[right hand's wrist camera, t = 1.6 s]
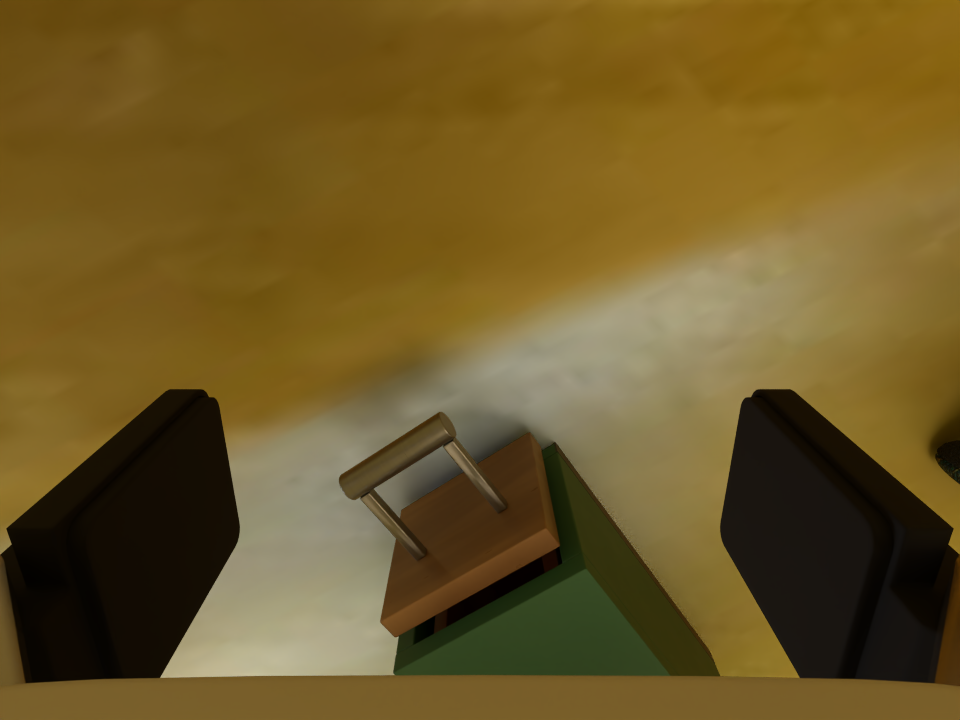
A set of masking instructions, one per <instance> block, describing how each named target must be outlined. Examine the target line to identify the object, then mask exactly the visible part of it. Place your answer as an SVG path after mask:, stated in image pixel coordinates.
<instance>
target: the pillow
mask: <svg viewBox="0 0 960 720" xmlns="http://www.w3.org/2000/svg"><path fill="white" fill-rule="evenodd" d="M937 452H938V453H937V454H936V455H935V458H936V460H937V462H938V464H939V466H940V467H941V468H942V469H943V470H944V471H945V472H946V473H947V474H948V475H949V476H950V477H951V478H953V479H954V480H955V481H956V482H958V483H959V484H960V440H959V441H952V442H948V443H945V444H943V445H942V446H941V447H939V448H938V449H937Z"/></svg>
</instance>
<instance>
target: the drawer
mask: <svg viewBox="0 0 960 720" xmlns="http://www.w3.org/2000/svg"><path fill="white" fill-rule="evenodd" d="M455 437H456V431H455V428H454V426H453V424H452V422H451V421H450V419H449V418H448V417H447V416H446V415H445V414H444V413H443V412H439V413H437V414H436V415H434V416H432V417H431V418H429V419H428V420H426V421H425V422H423V423H421V424H420V425H418V426H417V427H415V428H414V429H412V430H410V431H409V432H407V433H406V434H404V435H403V436H401V437H400V438H398V439H396V440H395V441H393V442H392V443H390V444H389V445H387V446H385V447H384V448H382V449H381V450H379V451H378V452H376V453H375V454H373V455H371V456H370V457H368V458H367V459H365V460H364V461H362V462H360V463H359V464H357V465H356V466H354V467H353V468H351V469H350V470H348V471H346V472H345V473H343V474H342V475H341V476H340V477H339V484H340V487H341V489H342V491H343V492H344V494H345V495H346V496H347V497H348V498H350V499H352V500H356V499H358V498H359V497H361V498H360V499H361V500H362V501H363V502H364V504H365V505H366V506H367V507H368V508H369V509H370V510H371V511H372V512H373V513H374V515H375V516H376V517H377V518H378V519H379V520H380V521H381V522H382V523H383V525H384V526H385V527H386V528H387V529H388V530H389V531H390V532H391V533H392V534H393V536H394V537H395V538H396V542H395V547H394V552H393V557H392V562H391V568H390V573H389V578H388V583H387V588H386V594H385V599H384V604H383V609H382V614H381V620H380V622H381V624H382V625H383V626H384V627H385V628H386V629H387V630H388V631H389V632H390V633H391V634H392V635H393V636H394V637H397V636H399V635H401V634H403V633H405V632H406V631H408V630H410V629H412V628H414V627H415V626H417V625H419V624H421V623H423V622H424V621H426V620H428V619H430V618H432V617H433V616H435V625H434V633H436V632H438V631H440V630H442V629H444V628H445V627H447V626H449V625H451V624H453V623H455V622H456V621H458V620H460V619H462V618H464V617H465V616H467V615H469V614H471V613H473V612H475V611H476V610H478V609H480V608H482V607H484V606H486V605H487V604H489V603H491V602H493V601H495V600H496V599H498V598H500V597H502V596H504V595H506V594H507V593H509V592H511V591H513V590H515V589H517V588H518V587H520V586H522V585H524V584H526V583H527V582H529V581H531V580H533V579H535V578H537V577H538V576H540V575H542V574H544V573H546V572H548V571H549V570H551V569H553V568H555V567H557V566H558V565H560V564H562V558H561V553H560V548H559V546H560V542H559V537H558V532H557V527H556V522H555V517H554V512H553V507H552V502H551V497H550V491H549V486H548V481H547V476H546V471H545V466H544V461H543V456H542V451H541V446H540V445H539V444H538V442H537V441H536V440H535V438H534V437H533V436H532V434H531V433H530V432H529V433H527V434H525V435H524V436H522V437H520V438H519V439H517V440H516V441H514V442H512V443H511V444H509V445H507V446H506V447H504V448H502V449H501V450H499V451H497V452H496V453H494V454H493V455H491V456H489V457H488V458H486V459H484V460H483V461H481V462H479V463H478V464H476V462H475V461H474V460H473V459H472V457H471V456H470V455H469V454H468V452H467V451H466V450H465V449H464V447H463V446H462V445H461V444H460V442H459V441H458V440H457V439H456V438H455ZM441 446H443V447H444V449H445V450H446V451H447V452H448V454H449V455H450V456H451V457H452V458H453V460H454V461H455V462H456V463H457V465H458V466H459V467H460V468H461V469H462V471H463V473H461V474H460V475H458V476H456V477H455V478H453V479H451V480H450V481H448V482H447V483H445V484H443V485H442V486H440V487H438V488H437V489H435V490H433V491H432V492H430V493H428V494H427V495H425V496H423V497H422V498H420V499H419V500H417V501H415V502H414V503H412V504H410V505H409V506H407V507H405V508H404V509H402V510H401V516H400V518H399V517H398V516H397V515H396V514H395V513H394V512H393V510H392V509H391V508H390V507H389V506H388V505H387V504H386V503H385V502H384V500H383V499H382V498H381V497H380V496H379V495H378V494H377V493H376V491H375V490H374V488H375V487H377V486H379V485H380V484H382V483H383V482H385V481H387V480H388V479H390V478H391V477H393V476H395V475H396V474H398V473H399V472H401V471H403V470H404V469H406V468H407V467H409V466H411V465H412V464H414V463H415V462H417V461H419V460H420V459H422V458H423V457H425V456H427V455H428V454H430V453H431V452H433V451H435V450H436V449H438V448H439V447H441Z"/></svg>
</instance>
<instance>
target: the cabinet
mask: <svg viewBox="0 0 960 720" xmlns="http://www.w3.org/2000/svg"><path fill="white" fill-rule="evenodd" d="M542 456H543V461H544V466H545V471H546V476H547V481H548V486H549V491H550V497H551V502H552V507H553V512H554V517H555V522H556V527H557V532H558V537H559V542H560V546H559V548H560V553H561V558H562V564H560V565H558V566H557V567H555V568H553V569H551V570H549V571H548V572H546V573H544V574H542V575H540V576H538V577H537V578H535V579H533V580H531V581H529V582H527V583H526V584H524V585H522V586H520V587H518V588H517V589H515V590H513V591H511V592H509V593H507V594H506V595H504V596H502V597H500V598H498V599H496V600H495V601H493V602H491V603H489V604H487V605H486V606H484V607H482V608H480V609H478V610H476V611H475V612H473V613H471V614H469V615H467V616H465V617H464V618H462V619H460V620H458V621H456V622H455V623H453V624H451V625H449V626H447V627H445V628H444V629H442V630H440V631H438V632H436V633H434V625H435V616H433V617H432V618H430V619H428V620H426V621H424V622H423V623H421V624H419V625H417V626H415V627H414V628H412V629H410V630H408V631H406V632H405V633H403V634H401V635H399V639H398V646H397V654H396V658H395V665H394V671H393V673H394V674H395V675H569V676H718V677H720V674H719V672H718V670H717V668H716V665H715V662H714V660H713V658H712V655H711V653H710V651H709V650H708V648H707V647H706V646H705V644H704V643H703V641H702V640H701V639H700V637H699V636H698V635H697V633H696V632H695V631H694V629H693V628H692V627H691V625H690V624H689V623H688V621H687V620H686V618H685V617H684V616H683V614H682V613H681V612H680V610H679V609H678V608H677V606H676V605H675V604H674V602H673V601H672V599H671V598H670V597H669V595H668V594H667V593H666V591H665V590H664V589H663V587H662V586H661V585H660V583H659V582H658V581H657V579H656V578H655V576H654V575H653V574H652V572H651V571H650V570H649V568H648V567H647V566H646V564H645V563H644V562H643V560H642V559H641V558H640V556H639V555H638V553H637V552H636V551H635V549H634V548H633V547H632V545H631V544H630V543H629V541H628V540H627V539H626V537H625V536H624V535H623V533H622V532H621V530H620V529H619V528H618V526H617V525H616V524H615V522H614V521H613V520H612V518H611V517H610V516H609V514H608V513H607V512H606V510H605V509H604V507H603V506H602V505H601V503H600V502H599V501H598V499H597V498H596V497H595V495H594V494H593V493H592V491H591V490H590V488H589V487H588V486H587V484H586V483H585V482H584V480H583V479H582V478H581V476H580V475H579V474H578V472H577V471H576V470H575V468H574V467H573V465H572V464H571V463H570V461H569V460H568V459H567V457H566V456H565V455H564V453H563V452H562V451H561V449H560V448H559V447H558V445H557V444H556V442H555V443H554V444H553V445H551V446H549V447H548V448H546V449H544V450H543V451H542Z"/></svg>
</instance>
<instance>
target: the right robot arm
mask: <svg viewBox="0 0 960 720" xmlns="http://www.w3.org/2000/svg"><path fill="white" fill-rule="evenodd" d="M6 529H7V532H8V535H9V538H10V540H11V543H12V545H11V546H10V547H9V548H7V549H6V550H5V551H4V552H3V553H2V554H1V555H0V720H960V555H959V554H958V553H957V552H956V551H955V550H954V549H953V548H951V547H950V546H949V545H948V543H949V540H950V538H951V535H952V532H953V529H954V528H952V527H951V526H950V525H949V524H948V523H947V522H945V521H944V520H943V519H942V518H941V517H940V516H938V515H937V514H936V513H935V512H934V511H933V510H931V509H930V508H929V507H928V506H927V505H926V504H924V503H923V502H922V501H921V500H920V499H919V498H917V497H916V496H915V495H914V494H913V493H912V492H911V491H909V490H908V489H907V488H906V487H905V486H904V485H902V484H901V483H900V482H899V481H898V480H897V479H895V478H894V477H893V476H892V475H891V474H890V473H888V472H887V471H886V470H885V469H884V468H883V467H881V466H880V465H879V464H878V463H877V462H876V461H874V460H873V459H872V458H871V457H870V456H869V455H868V454H866V453H865V452H864V451H863V450H862V449H861V448H859V447H858V446H857V445H856V444H855V443H854V442H852V441H851V440H850V439H849V438H848V437H847V436H845V435H844V434H843V433H842V432H841V431H840V430H838V429H837V428H836V427H835V426H834V425H833V424H831V423H830V422H829V421H828V420H827V419H826V418H824V417H823V416H822V415H821V414H820V413H819V412H818V411H816V410H815V409H814V408H813V407H812V406H811V405H809V404H808V403H807V402H806V401H805V400H804V399H802V398H801V397H800V396H799V395H798V394H797V393H795V392H794V391H792V390H791V389H759V390H756V391H755V392H754V393H753V395H752V396H751V397H747V398H745V399H744V400H743V402H742V404H741V408H740V414H739V420H738V426H737V431H736V437H735V443H734V449H733V454H732V460H731V466H730V472H729V477H728V483H727V489H726V495H725V500H724V506H723V512H722V518H721V524H720V532H721V538H722V542H723V544H724V546H725V548H726V550H727V552H728V553H729V555H730V557H731V558H732V560H733V562H734V564H735V565H736V567H737V569H738V571H739V572H740V574H741V576H742V578H743V579H744V581H745V583H746V585H747V586H748V588H749V590H750V591H751V593H752V595H753V597H754V598H755V600H756V602H757V604H758V605H759V607H760V609H761V611H762V612H763V614H764V616H765V618H766V619H767V621H768V623H769V625H770V626H771V628H772V630H773V631H774V633H775V635H776V637H777V638H778V640H779V642H780V644H781V645H782V647H783V649H784V651H785V652H786V654H787V656H788V658H789V659H790V661H791V663H792V665H793V666H794V668H795V670H796V671H797V673H798V675H799V677H800V678H770V677H718V676H569V675H391V676H242V677H190V678H160V677H161V675H162V673H163V671H164V670H165V668H166V666H167V665H168V663H169V661H170V659H171V658H172V656H173V654H174V652H175V651H176V649H177V647H178V645H179V644H180V642H181V640H182V638H183V637H184V635H185V633H186V631H187V630H188V628H189V626H190V625H191V623H192V621H193V619H194V618H195V616H196V614H197V612H198V611H199V609H200V607H201V605H202V604H203V602H204V600H205V598H206V597H207V595H208V593H209V591H210V590H211V588H212V586H213V585H214V583H215V581H216V579H217V578H218V576H219V574H220V572H221V571H222V569H223V567H224V565H225V564H226V562H227V560H228V558H229V557H230V555H231V553H232V552H233V550H234V548H235V546H236V544H237V542H238V538H239V532H240V524H239V518H238V512H237V506H236V500H235V495H234V489H233V483H232V477H231V472H230V466H229V460H228V454H227V449H226V443H225V437H224V431H223V426H222V420H221V414H220V408H219V404H218V402H217V400H216V399H215V398H213V397H209V396H208V395H207V393H206V392H205V391H204V390H201V389H169V390H168V391H166V392H165V393H163V394H162V395H161V396H160V397H159V398H158V399H156V400H155V401H154V402H153V403H152V404H151V405H149V406H148V407H147V408H146V409H145V410H144V411H142V412H141V413H140V414H139V415H138V416H137V417H136V418H134V419H133V420H132V421H131V422H130V423H129V424H127V425H126V426H125V427H124V428H123V429H122V430H120V431H119V432H118V433H117V434H116V435H115V436H113V437H112V438H111V439H110V440H109V441H108V442H106V443H105V444H104V445H103V446H102V447H101V448H99V449H98V450H97V451H96V452H95V453H94V454H92V455H91V456H90V457H89V458H88V459H87V460H86V461H84V462H83V463H82V464H81V465H80V466H79V467H77V468H76V469H75V470H74V471H73V472H72V473H70V474H69V475H68V476H67V477H66V478H65V479H63V480H62V481H61V482H60V483H59V484H58V485H56V486H55V487H54V488H53V489H52V490H51V491H49V492H48V493H47V494H46V495H45V496H44V497H43V498H41V499H40V500H39V501H38V502H37V503H36V504H34V505H33V506H32V507H31V508H30V509H29V510H27V511H26V512H25V513H24V514H23V515H22V516H20V517H19V518H18V519H17V520H16V521H15V522H13V523H12V524H11V525H10V526H9V527H8V528H6Z"/></svg>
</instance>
